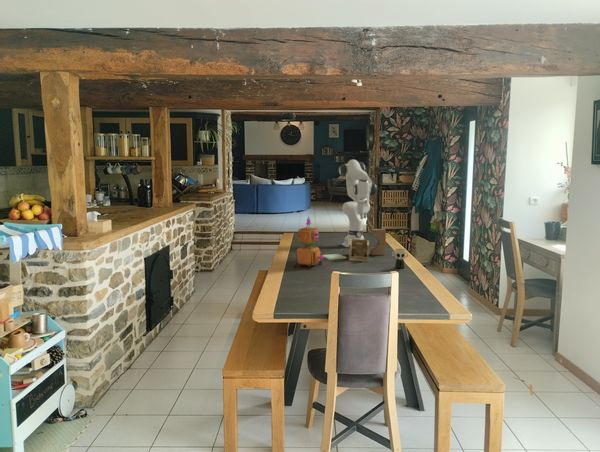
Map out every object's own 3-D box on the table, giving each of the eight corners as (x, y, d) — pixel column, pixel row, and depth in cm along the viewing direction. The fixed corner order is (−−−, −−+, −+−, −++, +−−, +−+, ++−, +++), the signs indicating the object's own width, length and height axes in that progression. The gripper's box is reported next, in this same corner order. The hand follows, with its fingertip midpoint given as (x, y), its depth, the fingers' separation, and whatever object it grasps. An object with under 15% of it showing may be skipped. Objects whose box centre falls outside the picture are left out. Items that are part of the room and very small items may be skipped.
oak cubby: (350, 254, 391) (350, 239, 390) (368, 254, 389) (368, 239, 388) (348, 260, 365) (349, 244, 364) (368, 261, 363) (368, 245, 362)
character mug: (392, 268, 339) (392, 250, 337) (391, 266, 346) (391, 248, 344) (408, 269, 338) (409, 250, 336) (407, 267, 345) (407, 248, 343)
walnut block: (356, 254, 380) (356, 242, 378) (362, 254, 379) (362, 243, 378) (356, 255, 375) (356, 243, 374) (361, 255, 375) (362, 243, 373)
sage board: (322, 256, 381) (322, 255, 381) (338, 255, 386) (338, 253, 385) (329, 259, 368) (329, 258, 368) (346, 258, 373) (346, 257, 372)
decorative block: (371, 255, 388) (371, 229, 385) (370, 253, 394) (370, 228, 391) (385, 255, 388) (386, 229, 385) (384, 253, 393) (384, 228, 391)
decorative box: (330, 265, 350) (330, 215, 345) (316, 270, 331) (317, 218, 327) (306, 262, 359) (306, 214, 354) (292, 267, 340) (292, 217, 335)
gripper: (362, 200, 388) (362, 217, 389) (355, 201, 369) (355, 219, 370) (370, 200, 386) (370, 217, 387) (364, 201, 367) (364, 219, 368)
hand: (363, 218), depth 379 cm, fingers open, 8 cm apart
